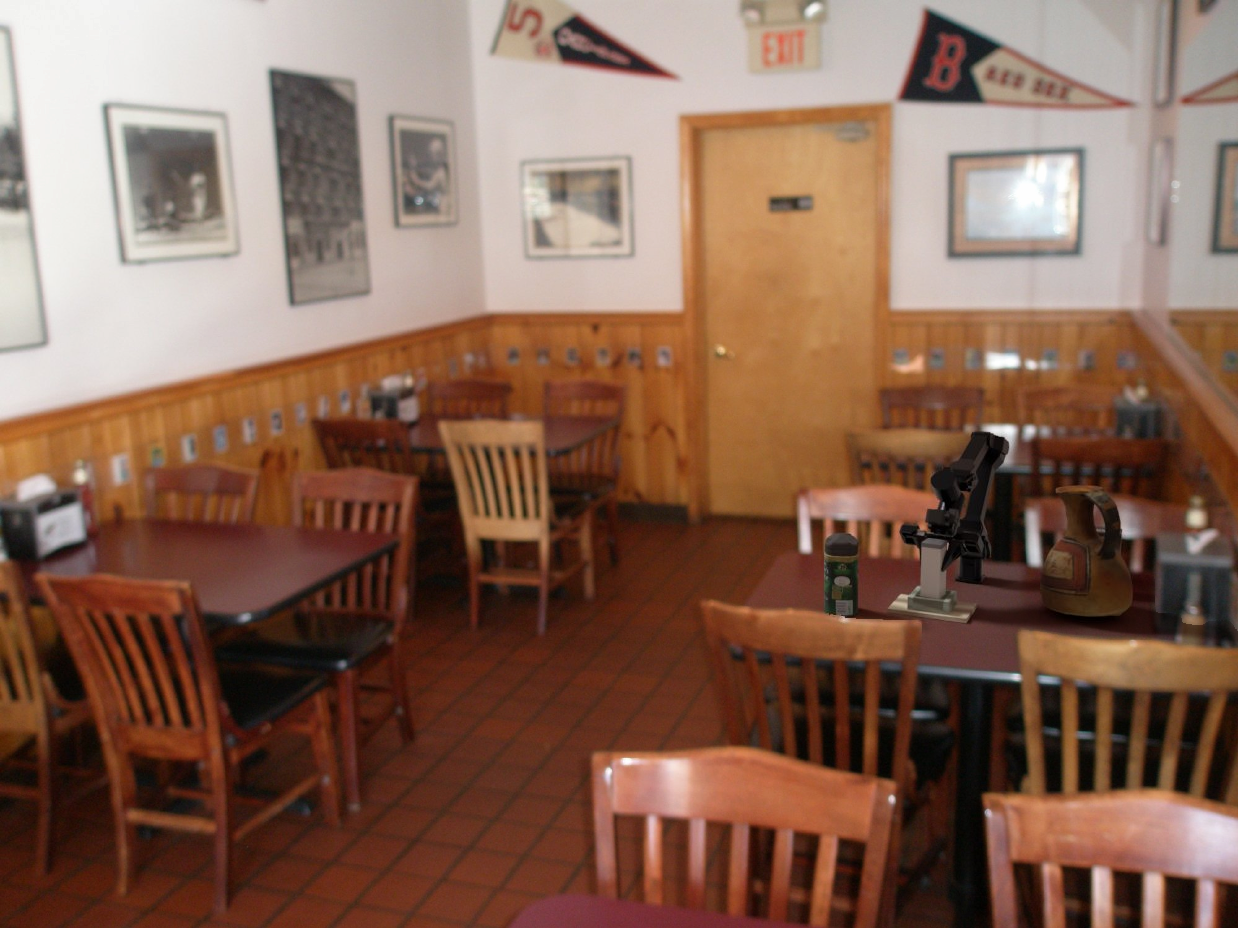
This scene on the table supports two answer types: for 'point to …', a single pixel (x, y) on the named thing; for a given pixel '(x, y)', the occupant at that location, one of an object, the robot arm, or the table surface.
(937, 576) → the connector plug
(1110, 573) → the ceramic pitcher
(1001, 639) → the table surface
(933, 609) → the end holder
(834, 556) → the coffee jar
